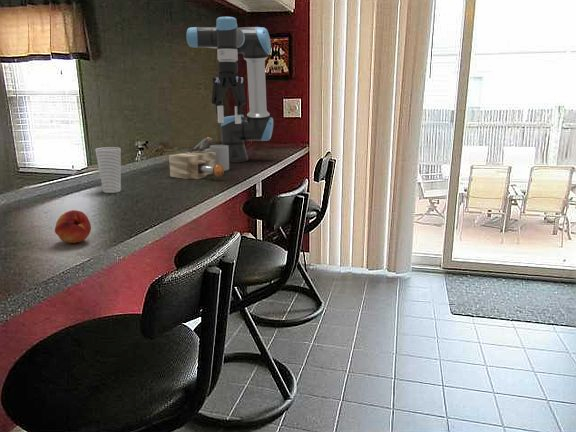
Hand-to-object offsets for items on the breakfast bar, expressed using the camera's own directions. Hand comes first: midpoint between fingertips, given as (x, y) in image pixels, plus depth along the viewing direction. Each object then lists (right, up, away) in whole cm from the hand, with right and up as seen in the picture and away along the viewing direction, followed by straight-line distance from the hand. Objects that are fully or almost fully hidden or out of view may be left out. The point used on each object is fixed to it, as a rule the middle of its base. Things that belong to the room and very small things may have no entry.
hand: (229, 123), depth 181 cm
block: (-17, -18, +21) cm, 33 cm away
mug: (-10, -15, +36) cm, 40 cm away
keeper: (-14, -5, +23) cm, 28 cm away
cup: (-41, -27, -12) cm, 51 cm away
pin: (-12, -19, +13) cm, 26 cm away
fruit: (-29, -43, -69) cm, 86 cm away
